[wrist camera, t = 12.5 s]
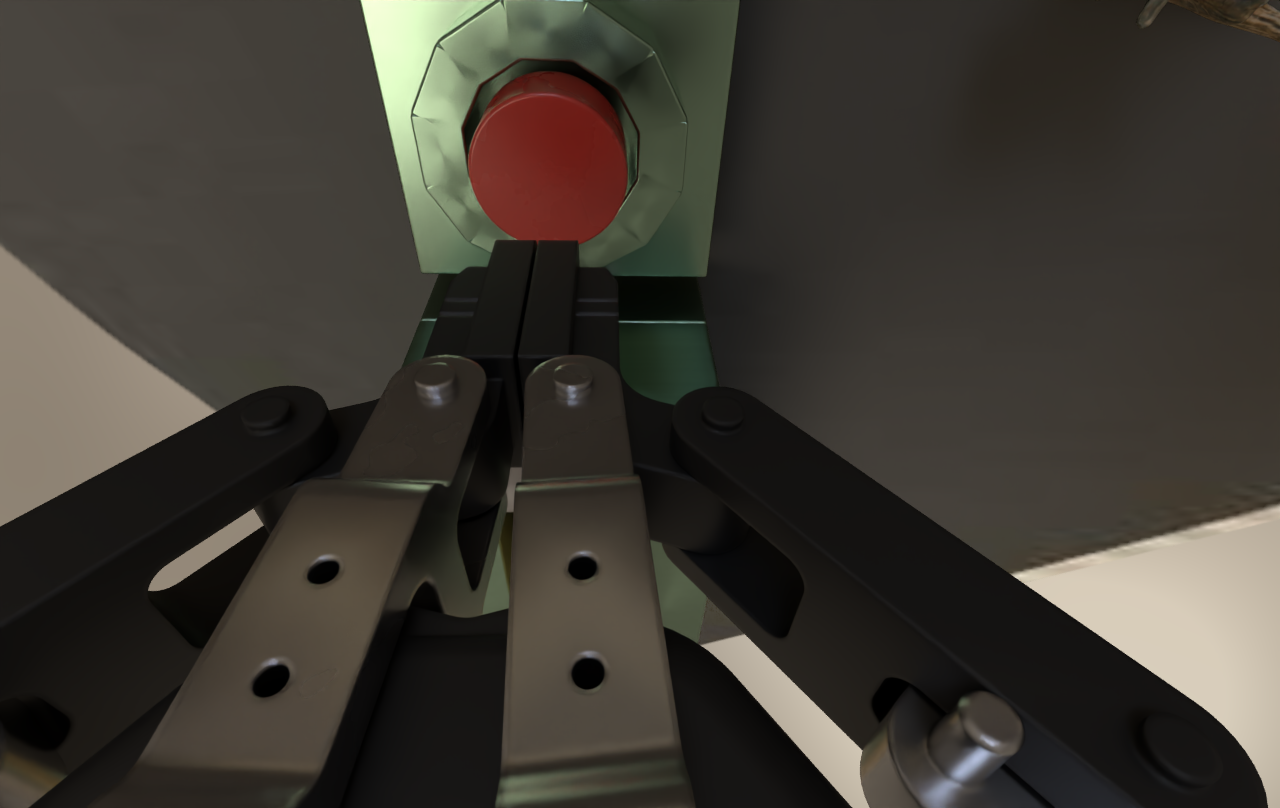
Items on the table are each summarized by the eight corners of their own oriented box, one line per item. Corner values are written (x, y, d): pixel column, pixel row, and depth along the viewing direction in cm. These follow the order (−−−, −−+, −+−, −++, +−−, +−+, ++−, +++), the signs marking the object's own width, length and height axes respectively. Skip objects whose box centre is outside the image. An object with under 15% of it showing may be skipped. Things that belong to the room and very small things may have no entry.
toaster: (444, 256, 22) (362, 462, 15) (694, 259, 23) (735, 461, 15) (493, 504, 32) (457, 706, 24) (668, 503, 32) (686, 701, 25)
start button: (469, 66, 14) (455, 89, 13) (628, 71, 14) (629, 94, 13) (489, 217, 16) (479, 249, 15) (624, 219, 17) (626, 250, 15)
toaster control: (375, -104, 16) (301, -88, 12) (731, -89, 16) (767, -69, 12) (439, 230, 22) (404, 310, 18) (697, 234, 22) (714, 313, 18)
